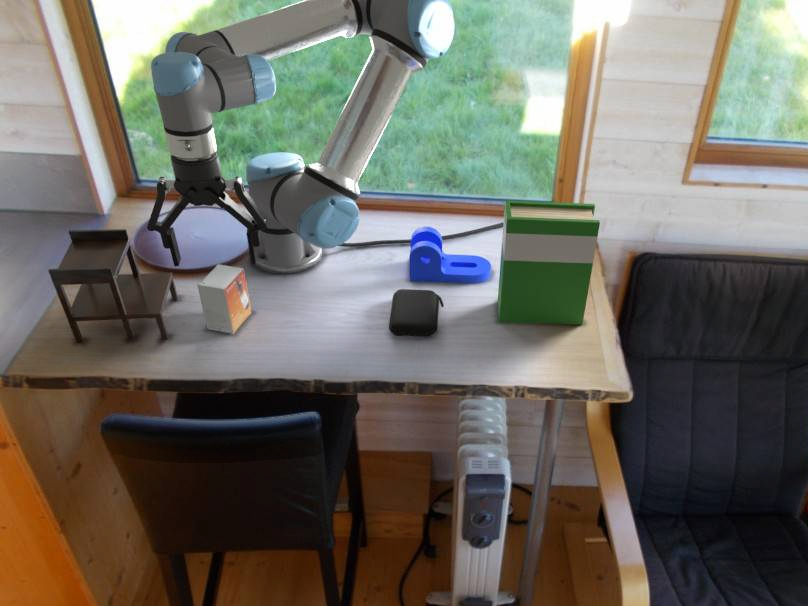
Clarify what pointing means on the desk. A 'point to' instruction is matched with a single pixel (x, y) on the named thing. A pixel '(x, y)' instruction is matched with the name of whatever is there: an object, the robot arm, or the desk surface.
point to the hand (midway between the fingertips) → (216, 261)
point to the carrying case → (414, 313)
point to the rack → (109, 282)
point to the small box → (225, 298)
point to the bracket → (443, 261)
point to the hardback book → (546, 261)
